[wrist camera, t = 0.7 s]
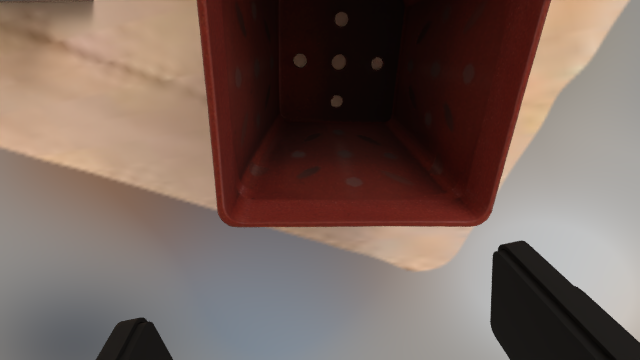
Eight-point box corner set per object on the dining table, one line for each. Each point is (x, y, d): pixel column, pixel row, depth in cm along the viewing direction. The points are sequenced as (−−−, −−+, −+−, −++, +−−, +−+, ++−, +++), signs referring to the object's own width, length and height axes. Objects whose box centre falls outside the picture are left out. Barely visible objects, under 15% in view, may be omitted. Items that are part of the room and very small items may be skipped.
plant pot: (247, 149, 38) (217, 230, 23) (237, -54, 30) (181, -138, 15) (412, 151, 40) (488, 228, 24) (442, -41, 32) (582, -105, 17)
